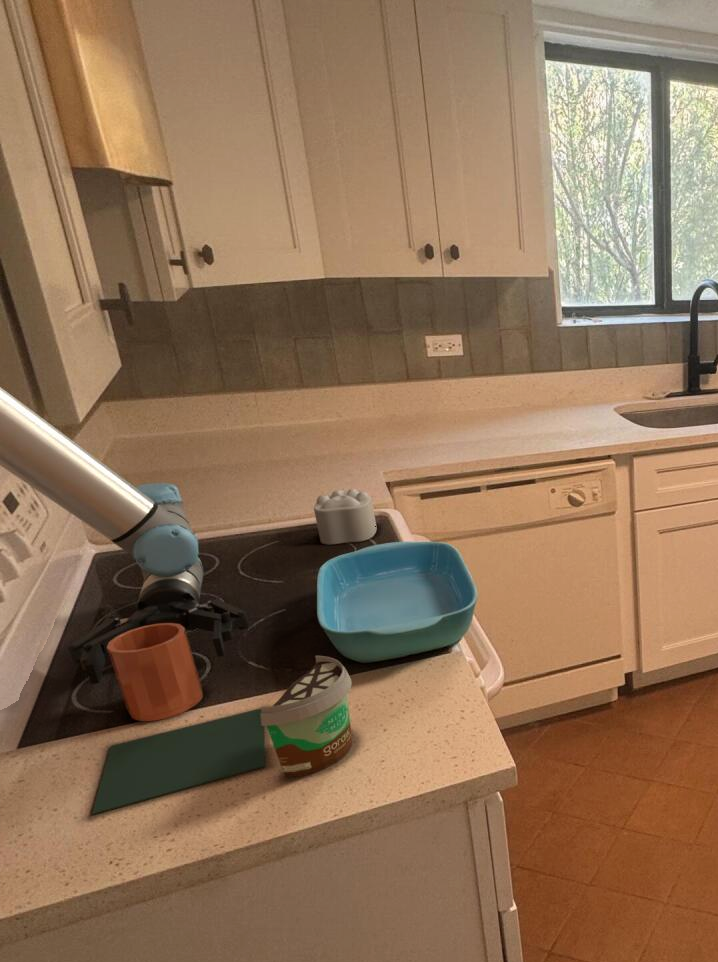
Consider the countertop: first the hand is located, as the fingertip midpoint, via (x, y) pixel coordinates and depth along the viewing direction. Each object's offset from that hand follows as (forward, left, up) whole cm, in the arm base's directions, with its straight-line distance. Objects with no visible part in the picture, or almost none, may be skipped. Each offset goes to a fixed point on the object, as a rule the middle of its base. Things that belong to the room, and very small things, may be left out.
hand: (157, 660), depth 103 cm
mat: (+16, +3, -6) cm, 17 cm away
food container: (+24, +18, -6) cm, 31 cm away
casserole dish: (-9, +30, -6) cm, 33 cm away
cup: (+1, 0, -6) cm, 6 cm away
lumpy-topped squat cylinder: (-58, +27, -6) cm, 65 cm away
